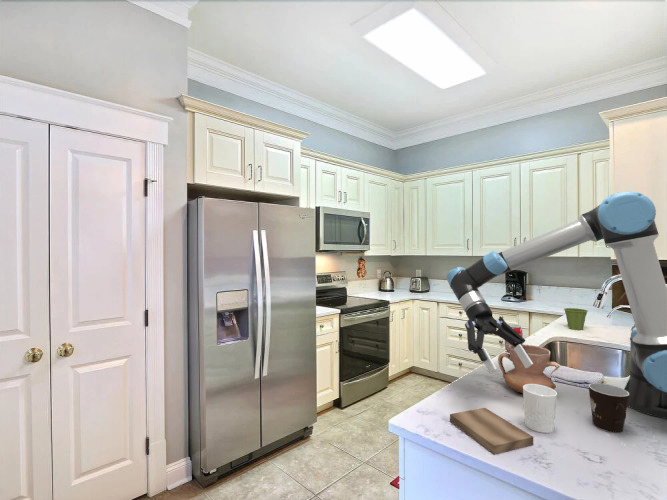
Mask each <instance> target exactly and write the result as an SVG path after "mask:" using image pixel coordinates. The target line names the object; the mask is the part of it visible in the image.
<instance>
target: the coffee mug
mask: <svg viewBox="0 0 667 500" xmlns="http://www.w3.org/2000/svg"><path fill="white" fill-rule="evenodd" d="M588 393H589V400H590V401H589V403H590V408H591V410H590V411H591V418H592V424H593V426H595V427H596V428H598V429H599V430H603V431H606V432H609V433H615V434H617V433H618V434H619V433H620V434H621V433H623V431H624V426H625V421H626V418H627V410H628V406H627V404H628V399H629V392H627V391H626V390H624V388H622V387H618V386H617V385H612V384H607V383H602V382H601V383H600V382H592V383H588Z"/></svg>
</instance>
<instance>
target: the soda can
mask: <svg viewBox="0 0 667 500" xmlns="http://www.w3.org/2000/svg"><path fill="white" fill-rule="evenodd" d="M507 324H508V325H509V326H510V327H511V328H512V329H514V330H515V331H516V332H517V333H518V334H519V335H520V336H522V337H523V329H522V326H521V325H519V324H513V323H512V324H511V323H510V324H509V323H507ZM523 338H524V337H523ZM515 343H516V342H515ZM509 345H511V344H510V343H508V342H507V341H505V340H504V349H505V351H507V353H509Z"/></svg>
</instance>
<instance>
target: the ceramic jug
mask: <svg viewBox="0 0 667 500" xmlns="http://www.w3.org/2000/svg"><path fill="white" fill-rule="evenodd" d="M522 345H523V347H524V348H525V350H526V351H527V355H528V356H529V358H530V359H531V361H532V363H533V364H532V365H531V366H530V367H528V368H525V366H524V365H523V363H522V361H521V360H520V358H519V357H518V355H517V353H516V352H515V350H514V348H515V347H514V346H513V345H509V352H502V353H500V354H499V355H498V357H497V363H498V366H499V369H500V371H501V372H502V377H503V379H504V382H505V384H506V385H507V386H508V387H510V388H511V389H512V390H513V391H515V392H517V393H521V394H523V386H524V385H526V384H538V385H543V386H546V387H549V388H552V389H553V390H555V389H556V387H557V385H556V383H555V382H554V381H553V380H552V378H550V377H549V376H548V375H546V374H545V373H544V372H545V370H546V368H548V367H555V368H558V366H559V363H558V362H555V361H550V358H551V351H550V349H548V348H545V347H541V346H538V345H531V344H530V345H529V344H524V343H523V344H522ZM504 358H506V359H508V360H509V361H510V362H512V365H513V367H514V368H512V369H511V370H508V371H506V370H505V367H504V363H503V359H504Z"/></svg>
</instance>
